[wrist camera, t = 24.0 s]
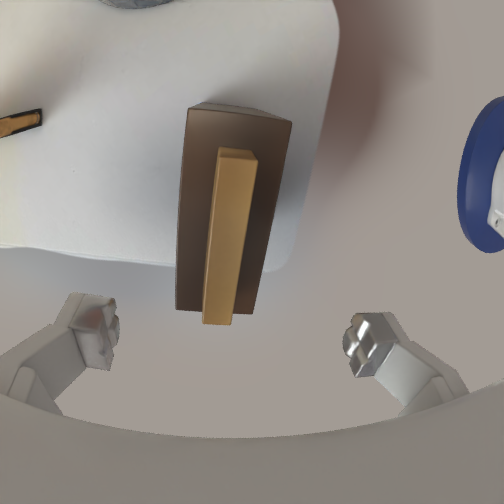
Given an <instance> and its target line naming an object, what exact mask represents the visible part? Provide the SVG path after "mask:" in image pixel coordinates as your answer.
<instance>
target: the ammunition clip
mask: <svg viewBox="0 0 504 504" xmlns="http://www.w3.org/2000/svg"><path fill="white" fill-rule="evenodd" d="M41 125H42V122H41V109H35V110H30V111H26V112H22V113H17V114H13V115H10V116H6V117H3V118H0V138H3V137H7V136H10V135H14V134H17V133H20V132H23V131H26V130H29V129H32V128H35V127H38V126H41Z"/></svg>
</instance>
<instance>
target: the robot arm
mask: <svg viewBox="0 0 504 504" xmlns="http://www.w3.org/2000/svg"><path fill="white" fill-rule="evenodd" d="M487 223H488V224H489V225H490V226H491V227H492V228H493V229H494V230H495V231H496V232H497V233H498V234H499V235H500V236H501V237H502V238H503V239H504V150H503V152H502V153H501V155H500V158H499V160H498V163H497V166H496V169H495V172H494V177H493V183H492V194H491V206H490V210H489V214H488V218H487ZM116 308H117V307H116V302H115V299H114V298H110V297H103V296H97V295H91V294H83V293H78V292H72V293H71V294H70V295H69V297H68V298H67V300H66V302H65V304H64V306H63V308H62V309H61V311H60V313H59V315H58V317H57V319H56V321H55V323H54V325H52V324H49V325H48V326H46V327H44V328H43V329H42V330H40V331H38V332H37V333H35V334H33V335H32V336H30V337H29V338H27V339H26V340H24V341H23V342H21V343H20V344H18V345H17V346H15V347H13V348H12V349H10V350H9V351H7V352H6V353H4V354H3V355H1V356H0V504H504V378H503V379H501V380H499V381H497V382H495V383H493V384H491V385H488V386H486V387H484V388H482V389H480V390H477V391H475V392H472V393H469V391H468V389H467V387H466V386H465V384H464V382H463V381H462V379H461V377H460V376H459V374H458V372H457V371H456V370H455V369H453V368H452V367H451V366H449V365H448V364H446V363H445V362H443V361H442V360H440V359H439V358H438V357H436V356H435V355H433V354H432V353H430V352H429V351H427V350H426V349H424V348H423V347H421V346H420V345H419V344H417V343H416V342H414V341H410V340H409V338H408V336H407V335H406V333H405V332H404V330H403V329H402V327H401V325H400V324H399V322H398V321H397V319H396V317H395V316H394V314H392V313H391V312H379V313H356V314H355V315H354V316H353V317H352V319H351V324H352V326H351V327H349V328H348V329H347V330H346V332H345V334H344V336H343V349H344V352H345V354H346V355H347V356H348V357H349V358H351V360H350V363H349V364H350V367H351V369H352V372H353V374H354V376H355V377H367V376H374V377H375V378H376V379H377V380H378V381H379V382H380V383H381V384H382V385H383V386H384V387H385V388H386V389H387V390H388V391H389V392H390V393H391V394H392V395H393V396H394V397H395V398H396V399H397V400H398V401H399V402H400V403H401V404H403V405H404V406H405V408H404V409H403V410H402V411H401V413H400V414H399V415H398V417H397V418H394V419H390V420H386V421H381V422H377V423H373V424H368V425H363V426H357V427H352V428H347V429H341V430H334V431H328V432H320V433H312V434H304V435H293V436H281V437H264V438H201V437H185V436H184V437H183V436H173V435H161V434H153V433H146V432H139V431H132V430H126V429H120V428H115V427H110V426H104V425H100V424H95V423H91V422H86V421H82V420H78V419H74V418H70V417H67V416H63V414H62V412H61V410H60V409H59V408H58V406H57V405H56V403H55V402H54V400H55V399H56V398H57V397H58V396H59V395H60V394H61V393H62V392H63V391H64V390H65V389H66V388H67V387H68V386H69V385H70V384H71V383H72V382H73V381H74V380H75V379H76V378H77V377H78V376H79V375H80V374H81V373H82V372H83V371H84V370H85V369H86V367H89V368H95V369H101V370H107V371H110V367H111V364H112V360H113V357H114V354H113V350H112V348H113V347H115V346H116V345H117V342H118V339H119V330H120V328H119V318H118V317H117V316H116V315H115V311H116Z"/></svg>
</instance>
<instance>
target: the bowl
mask: <svg viewBox="0 0 504 504" xmlns="http://www.w3.org/2000/svg"><path fill="white" fill-rule="evenodd" d="M99 1H100V2H103V3H105V4H107V5H110V6H113V7H118V8H125V9H137V8H146V7H152V6H156V5H160V4H164V3H167V2H169V1H172V0H99Z"/></svg>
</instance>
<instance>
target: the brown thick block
mask: <svg viewBox="0 0 504 504" xmlns="http://www.w3.org/2000/svg"><path fill="white" fill-rule="evenodd" d="M291 128H292V122H291V121H289V120H286V119H284V118H281V117H278V116H275V115H272V114H270V113H267V112H264V111H261V110H258V109H253V108H246V107H239V106H231V105H223V104H213V103H203V102H202V103H200V104H197V105H195V106H192V107H190V108H188V112H187V120H186V129H185V137H184V147H183V156H182V167H181V179H180V191H179V206H178V223H177V245H176V282H175V283H176V284H175V309H176V310H184V311H198V312H202V299H203V285H204V273H205V262H206V251H207V241H208V231H209V222H210V213H211V204H212V195H213V187H214V179H215V171H216V163H217V156H218V148H219V147H228V148H237V149H245V150H251V151H252V152H253V154H254V156H255V157H256V159H257V160H258V167H257V173H256V178H255V184H254V190H253V196H252V201H251V207H250V213H249V219H248V225H247V231H246V237H245V243H244V248H243V254H242V260H241V266H240V272H239V278H238V284H237V290H236V296H235V303H234V309H233V314H253V310H254V306H255V301H256V297H257V292H258V287H259V283H260V278H261V273H262V269H263V264H264V260H265V255H266V250H267V245H268V241H269V236H270V231H271V226H272V222H273V217H274V212H275V207H276V202H277V197H278V193H279V188H280V183H281V178H282V173H283V168H284V163H285V158H286V153H287V148H288V143H289V138H290V133H291Z"/></svg>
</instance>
